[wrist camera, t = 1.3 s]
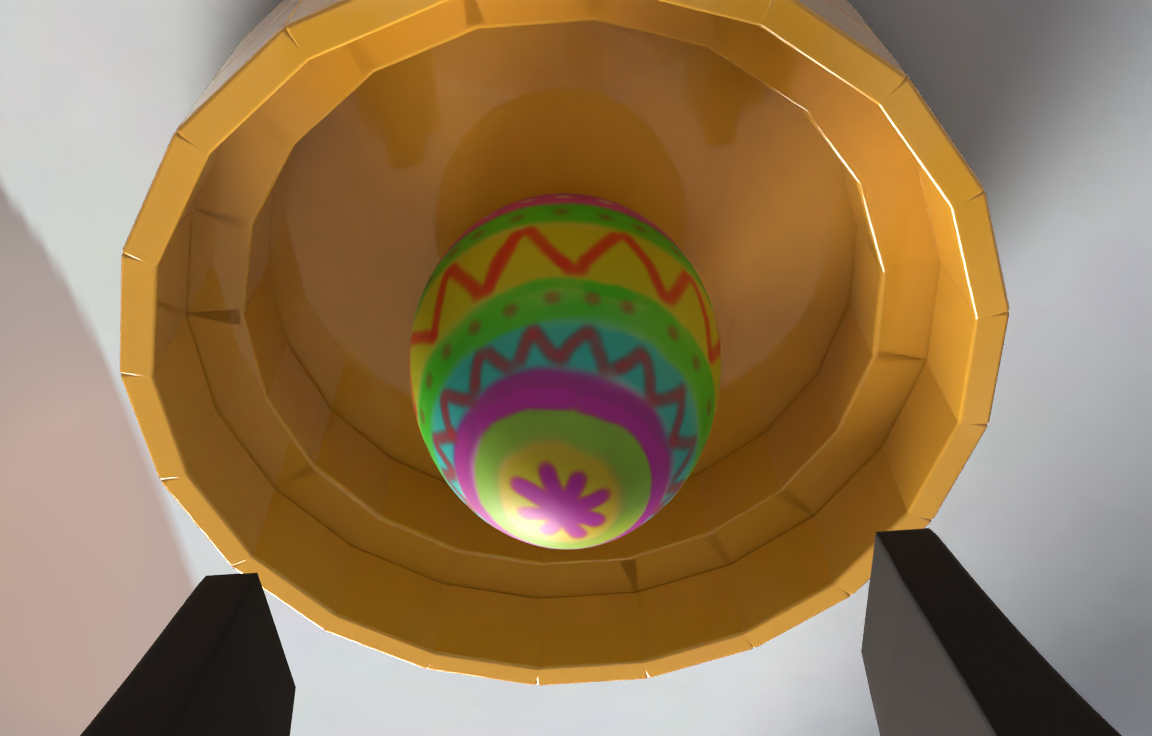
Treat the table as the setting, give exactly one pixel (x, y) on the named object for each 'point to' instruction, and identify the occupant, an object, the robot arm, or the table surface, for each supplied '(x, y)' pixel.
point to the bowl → (538, 167)
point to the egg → (565, 369)
